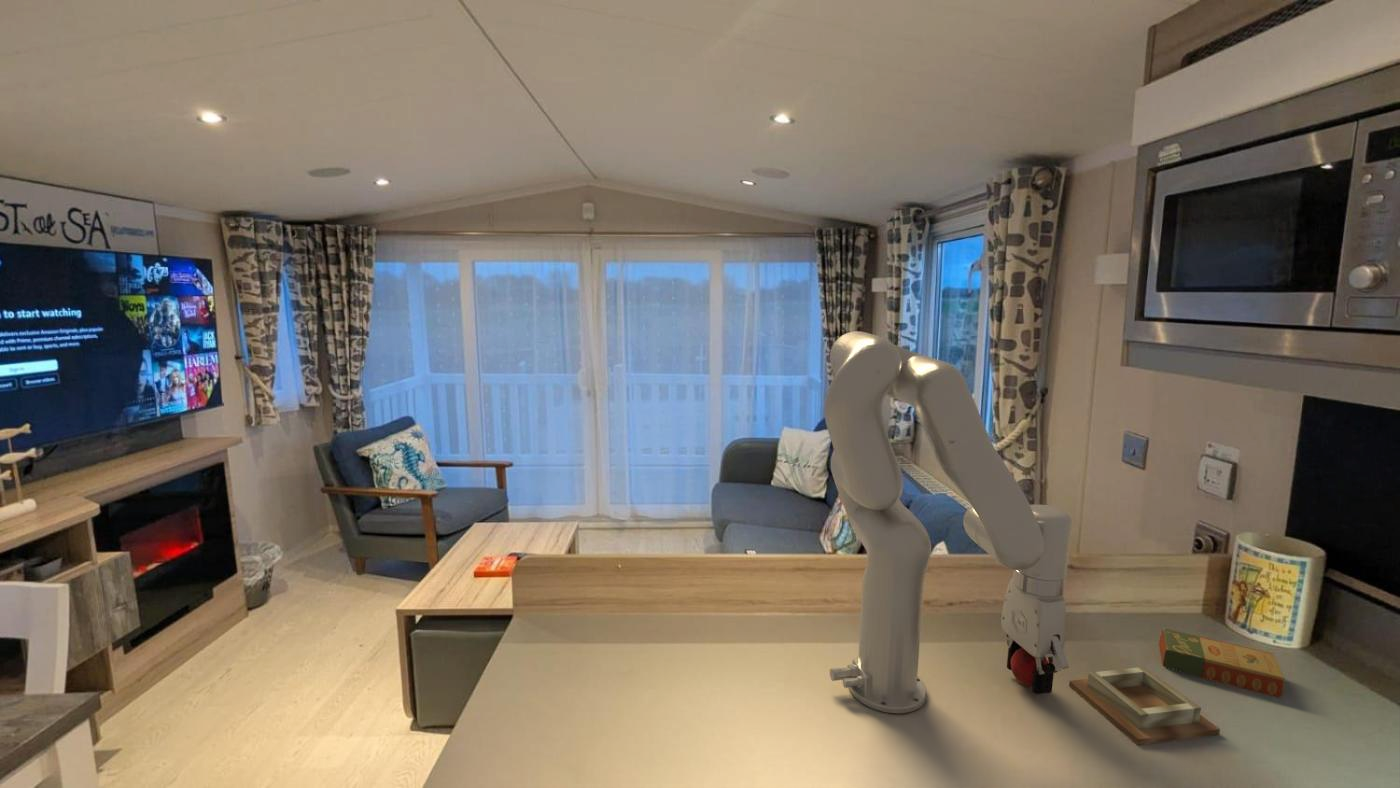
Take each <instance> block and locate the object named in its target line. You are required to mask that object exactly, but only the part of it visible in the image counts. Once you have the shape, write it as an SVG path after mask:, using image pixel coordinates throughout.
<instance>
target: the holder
mask: <svg viewBox="0 0 1400 788" xmlns="http://www.w3.org/2000/svg"><path fill="white" fill-rule="evenodd" d="M1087 676H1088V677H1087V678H1083V679H1082V678H1081V679H1073V680H1069V683H1068V686H1069V687H1070V689H1072V690H1073V691H1074V692H1075V691H1076V692H1075V693H1076V694H1078V695H1079V696H1080V695H1081V696H1082V697H1083V698H1084V699H1083V698H1082V697H1081V696H1080V697H1081V698H1082V699H1083V700H1085V701H1086V702H1087V703H1088V702H1089V703H1088V704H1089V705H1090V704H1091V705H1090V706H1092V708H1094V709H1095V710H1096V709H1097V710H1098V711H1099V713H1100V714H1101V715H1102V716H1103V715H1104V716H1103V717H1104V718H1106V719H1107V720H1108V721H1109V722H1110V723H1111V724H1112V725H1113V726H1114V727H1116V728H1117V729H1118V730H1119V731H1120V732H1121V733H1123V734H1124V735H1125V736H1126V737H1128V738H1129V740H1131V741H1132V742H1133V743H1134V744H1135V745H1137V746H1144V745H1150V744H1159V743H1167V741H1168V742H1174V741H1173V740H1176V741H1182V739H1183V740H1190V739H1189V738H1191V739H1196V738H1197V737H1199V738H1205V737H1206V736H1207V737H1213V736H1220V733H1221V728H1219V726H1217V725H1215V724H1214V723H1213V722H1211V721H1209V719H1207V718H1205V716H1203V715H1201V710H1202V707H1201V706H1199V704H1197V703H1195V702H1194V701H1192V700H1191V699H1190V698H1188V697H1187V696H1186V695H1184V694H1183V693H1181V692H1180V691H1179V690H1178V689H1176V688H1175V687H1173V686H1172V685H1171V684H1169V683H1168V682H1166V681H1164V680H1163V679H1162V678H1160V677H1159V676H1157V675H1156V674H1155V673H1153V672H1152V671H1151V670H1149V669H1148V668H1146V667H1145V666H1139V667H1131V668H1123V669H1120V668H1119V669H1112V670H1104V671H1093V672H1091V671H1090V672H1088V675H1087ZM1097 710H1096V711H1097ZM1098 711H1097V712H1098ZM1197 739H1198V738H1197Z"/></svg>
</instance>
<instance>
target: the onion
mask: <svg viewBox="0 0 1400 788" xmlns="http://www.w3.org/2000/svg"><path fill="white" fill-rule="evenodd" d="M1043 661H1044V665H1046V664H1048V663H1049V662H1048V658H1047V657H1046V658H1043ZM1035 670H1037V665H1036V658H1035V657H1033V656H1032V655H1030V654H1029V653H1028V652H1027V651H1026V650H1025V649H1023V648H1019V649H1018V650H1017V651H1016V652H1015V653H1014V654H1013V656H1012V658H1011V670H1010V671H1011V672H1012V674H1013V676H1014V677H1015V679H1016V680H1018V682H1020V683H1021V684H1022V685H1024V686H1025V687H1026V688H1031V689H1032V684H1033V675H1034V671H1035Z"/></svg>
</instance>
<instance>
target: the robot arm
mask: <svg viewBox="0 0 1400 788" xmlns="http://www.w3.org/2000/svg"><path fill="white" fill-rule="evenodd" d="M829 361H830V364H831V368H832V369H833V372H834V373H835V375H834V376H833V377H832V380H831V382H830V384H829V386H828V388H827V389H828V390H827V393H826V396H825V400H824V408H823V409H824V410H823V412H824V413H823V414H824V420H825V424H826V430H827V432H828V435H829V439H830V441H831V444H832V447H833V452H832V453H831V458H830V471H831V476H832V478H833V481H834V484H835V487H836V490H837V493H838V495H839V498H840V500H841V503H842V505H843V509H844V511H845V513H846V516H847V518H848V520H849V523H850V527H852V530H853V531H854V534H855V535H856V537H857V538H858V539H859V541H860V543H861V544H862V546H863V548H864V549H865V551H866V554H867V555H866V557H867V558H866V565H865V570H864V573H863V577H862V583H861V594H860V595H861V597H860V600H861V601H860V622H859V641H858V657H852V664H848V665H847V667H836V668H835V667H834V668H832V667H831V668H830V669H829V676H830V679H831V681H833V682H835V681H842V686H843V688H844V689H846V688H847V689H849V691H850V693H851V695H852V696H853V697H854V698H855V699H856V700H858V701H859V702H860V703H861V704H863V705H865V706H867V707H869V708H870V709H874V710H875V711H878V712H879V711H880V712H883V713H889V714H905V713H906V714H907V713H911V712H914V711H917V710H918V709H920V708H921V707H923V705H924V704H925V702H926V699H927V687H926V685H925V683H924V681H923V680H922V679H921V677H919V675H918V673H919V671H918V670H919V656H920V655H919V654H920V645H921V644H920V642H921V640H920V639H921V626H922V614H923V613H922V612H923V599H924V597H923V595H924V586H925V579H926V576H927V572H928V569H929V568H928V567H929V563H930V560H931V557H932V555H931V554H932V545H931V539H930V535H929V533H928V531H927V530H926V528H925V526H924V525H923V524H922V522H921V521H920V519H918V517H917V516H915V514H913V512H912V511H911V510H910V509H909V508H907V507H906V506H905V505H904V504H903V503H902V501H901V500H900V498H901V496H902V494H903V491H904V477H903V472H902V469H901V466H900V464H899V462H898V460H897V457H896V454H895V452H894V448H893V446H892V443H891V440H890V438H889V435H888V431H887V428H886V425H885V420H884V417H883V409H882V408H883V403H884V400H885V398H886V397H888V398H892V399H895V400H898V401H901V402H903V403H906V404H908V405H909V406H911V407H912V408H913V409H914V411H915V413H916V415H917V418H918V420H919V423H920V425H921V427H922V429H923V431H924V433H925V435H926V438H927V440H928V442H929V445H930V448H931V450H932V452H933V455H934V457H935V459H936V461H937V464H938V465H939V467H940V468H941V470H942V471H943V473H944V474H945V475H946V476H947V478H948V479H949V481H950V482H952V484H953V485H955V487H956V488H957V489H958V490H959V491H960V492H961V494H963V495H964V497H965V498H966V500H967V501H968V502H969V504H970V505H971V506H970V507H969V508H968V509H967V510H966V512H964V516H963V519H962V520H963V527H964V530H965V532H966V534H967V535H968V536H969V538H970V539H971V540H972V541H973V542H974V543H975V544H977V546H978V547H980V548H981V549H982V550H984V551H985V552H986V553H987V554H988V555H989V556H990V557H992V559H994V560H995V562H997V563H998V564H999V565H1001V566H1002V567H1004V568H1006V569H1008V570H1012V571H1013V574H1012V575H1013V576H1012V577H1011V578H1010V580H1009V582H1008V586H1007V589H1006V592H1005V596H1004V602H1003V607H1002V611H1001V612H1002V613H1001V614H1000V619H1001V621H1000V622H1001V625H1000V626H1001V628H1002V630H1003V632H1005V634H1006V637H1007V639H1006V645H1007V646H1008V649H1007V661H1006V668H1007V669H1008V670H1009V671H1012V670H1011V658H1012V656H1013V654H1014V653H1015V652H1016V651H1017V650H1018V649H1019V648H1023V649H1025V650H1026V651H1027V652H1028V653H1029V654H1030V655H1032V656H1033V657H1035V658H1036V665H1037V670H1035V671H1034V675H1033V684H1032V687H1031V691H1032V693H1033V694H1034V695H1042V694H1051V693H1052V691H1053V682H1054V674H1057V673H1058V672H1060V671H1063V670H1066V669H1068V668H1070V664H1069V661H1068V659H1067V656H1066V655H1065V652H1064V648H1065V644H1066V642H1065V641H1066V633H1067V613H1066V600H1065V597H1064V596H1065V589H1066V579H1067V572H1068V571H1067V570H1068V561H1069V553H1070V546H1071V545H1070V543H1071V536H1072V526H1073V523H1072V518H1071V516H1070V514H1069V513H1068V512H1067V511H1065V510H1063V509H1062V508H1058V507H1056V506H1052V505H1048V504H1047V505H1046V504H1035V503H1034V504H1030V502H1029V500H1028V499H1027V496H1026V494H1025V492H1024V491H1023V489H1022V488H1021V486H1020V485H1019V483H1018V482H1017V480H1016V479H1015V478H1014V476H1013V474H1012V473H1011V471H1010V470H1009V468H1008V466H1007V464H1006V462H1004V460H1003V458H1002V456H1001V455H1000V454H999V452H998V451H997V449H996V448H995V446H994V444H993V442H992V440H991V437H990V436H989V433H988V431H987V428H986V425H985V423H984V421H983V418H982V417H981V414H980V412H979V411H980V410H978V407H977V405H976V402H975V400H974V397H973V395H972V392H971V390H970V388H969V386H968V383H967V381H966V379H965V376H964V375H963V374H962V372H961V371H960V370H959V369H958V368H957V367H956V365H955V366H954V365H953V364H951V363H949V362H947V361H944V360H940V359H937V358H933V357H930V356H927V355H924V354H921V353H918V352H915V351H912V350H909V349H906V348H903V347H902V346H898V345H896V344H894V343H893V342H892V341H890V340H889V339H887V338H885V337H882V336H879V335H876V334H872V333H869V332H865V331H861V330H858V331H857V330H854V331H849V332H846V333H844V334H843V335H840V337H838V338H837V339H836V340H835V341H834V343H833V344H832V346H831V349H830V354H829ZM1043 658H1046V659H1047V661H1048V664H1046V665H1044V661H1043Z"/></svg>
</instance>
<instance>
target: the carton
mask: <svg viewBox="0 0 1400 788" xmlns="http://www.w3.org/2000/svg"><path fill="white" fill-rule="evenodd" d="M1158 641H1159V642H1158V647H1160V648H1159V653H1161V654H1160V658H1162V659H1161V663H1162V667H1163V666H1164V667H1166V668H1165V669H1167V668H1170V669H1169V670H1171V669H1174V670H1173V671H1175V670H1177V671H1176V672H1179V671H1181V672H1180V673H1183V672H1184V673H1183V674H1186V675H1190V676H1194V677H1198V678H1202V679H1207V680H1210V681H1214V682H1217V683H1221V684H1224V685H1229V686H1232V687H1236V688H1240V689H1244V690H1248V691H1253V692H1256V693H1259V694H1264V695H1267V696H1270V697H1275V698H1279V699H1282V697H1283V694H1284V693H1283V692H1284V686H1285V685H1284V684H1285V676H1284V674H1283V672H1282V669H1281V666H1280V665H1279V663H1278V660H1277V658H1276V656H1275V653H1272V652H1268V651H1265V650H1260V649H1255V648H1251V647H1248V646H1242V645H1239V644H1234V643H1230V642H1225V641H1221V640H1220V641H1219V640H1215V639H1213V638H1212V639H1211V638H1207V637H1203V636H1199V635H1194V634H1190V633H1186V632H1182V631H1177V630H1172V629H1168V628H1165V627H1163V628H1162V630H1161V633H1160V637H1159V640H1158ZM1164 667H1163V668H1164Z"/></svg>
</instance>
